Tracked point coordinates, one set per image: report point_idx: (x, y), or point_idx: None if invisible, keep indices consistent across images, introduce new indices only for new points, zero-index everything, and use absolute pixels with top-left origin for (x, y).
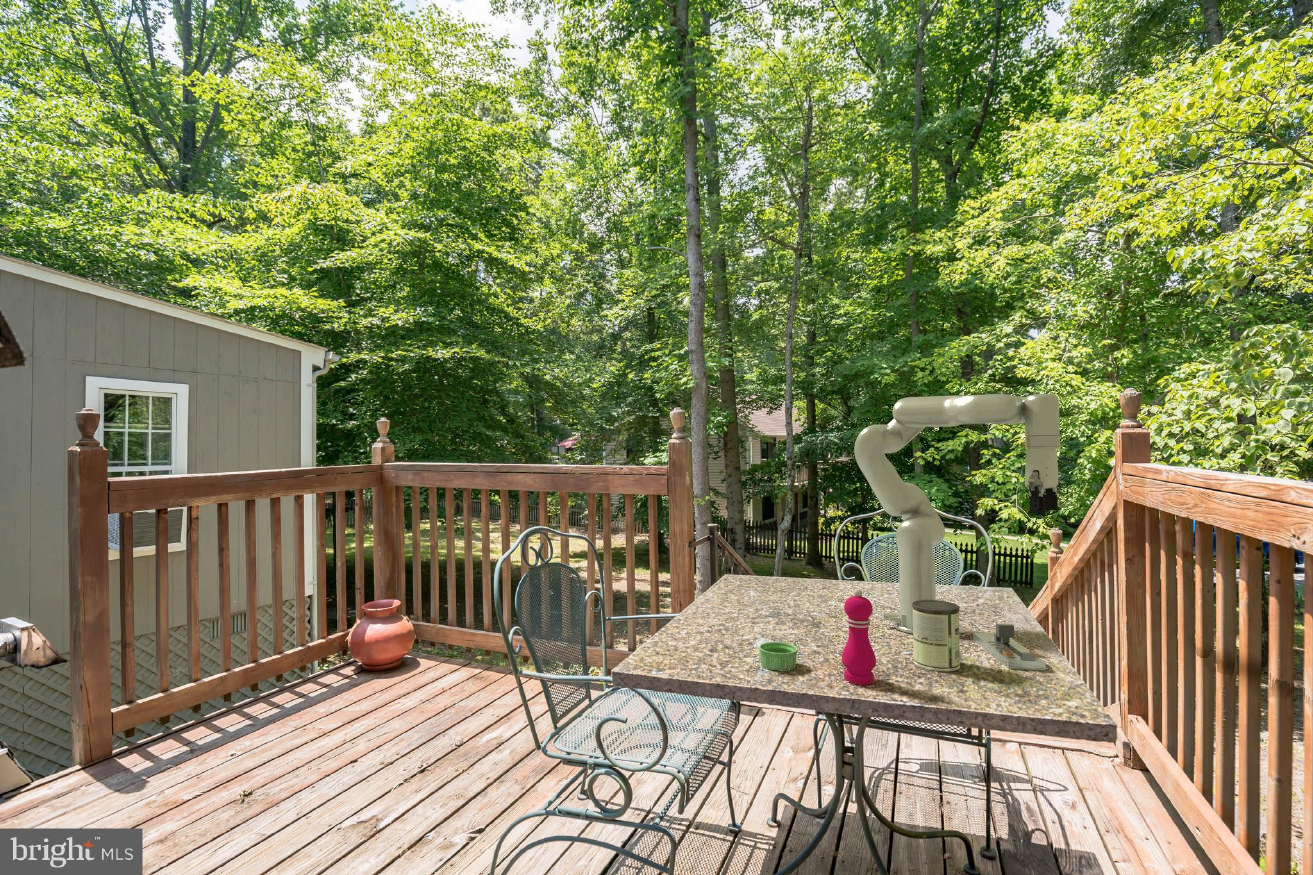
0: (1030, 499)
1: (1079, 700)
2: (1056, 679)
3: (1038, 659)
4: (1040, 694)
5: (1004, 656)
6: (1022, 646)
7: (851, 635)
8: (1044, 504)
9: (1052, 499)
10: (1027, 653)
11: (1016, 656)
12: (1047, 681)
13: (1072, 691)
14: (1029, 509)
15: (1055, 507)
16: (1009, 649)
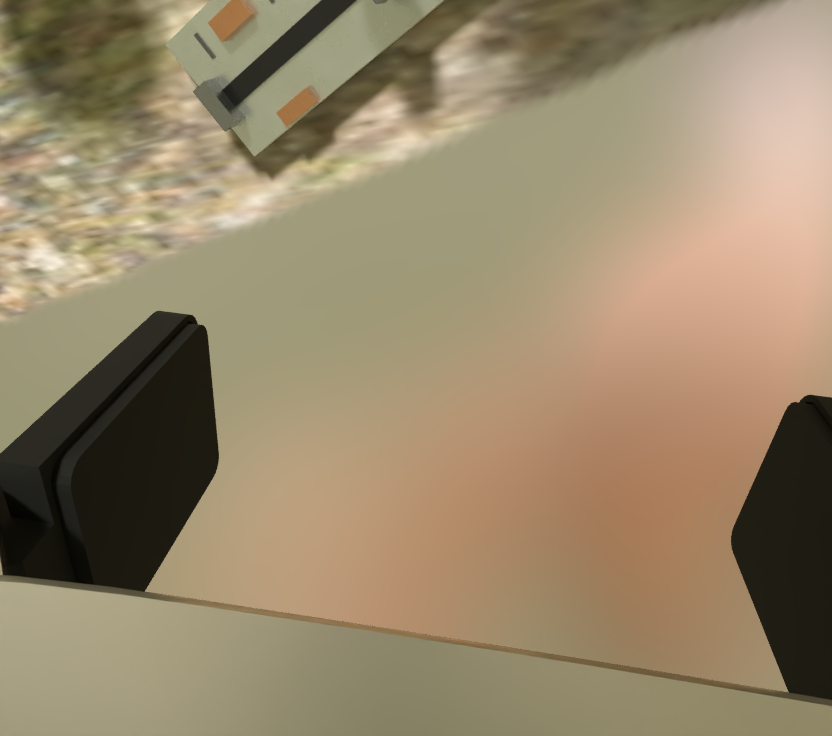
0: (47, 436)
1: (83, 270)
2: (201, 194)
3: (261, 131)
4: (38, 184)
5: (199, 17)
6: (392, 36)
7: None
8: (825, 463)
9: (806, 644)
10: (208, 107)
11: (235, 55)
12: (161, 177)
13: (135, 247)
14: (142, 323)
15: (744, 561)
16: (310, 3)
